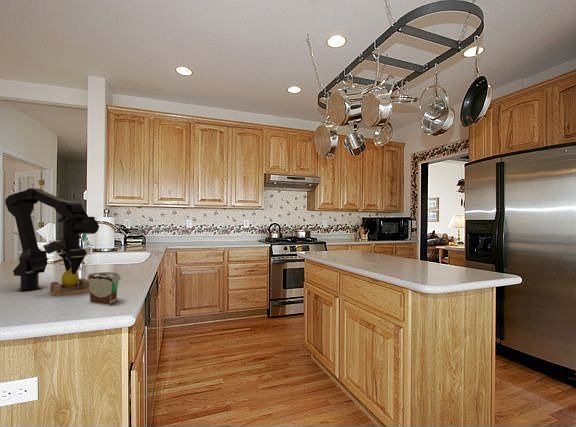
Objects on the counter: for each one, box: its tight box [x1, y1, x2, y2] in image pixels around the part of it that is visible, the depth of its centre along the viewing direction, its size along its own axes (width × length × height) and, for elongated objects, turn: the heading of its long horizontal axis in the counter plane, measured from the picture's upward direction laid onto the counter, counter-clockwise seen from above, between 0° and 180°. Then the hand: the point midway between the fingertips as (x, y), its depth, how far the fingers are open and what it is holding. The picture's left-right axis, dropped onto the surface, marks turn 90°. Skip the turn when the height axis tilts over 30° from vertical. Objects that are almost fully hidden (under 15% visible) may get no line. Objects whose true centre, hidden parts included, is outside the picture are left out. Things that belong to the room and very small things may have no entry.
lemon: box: [61, 268, 80, 288], centre depth 120 cm, size 6×6×8 cm
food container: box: [86, 271, 121, 306], centre depth 107 cm, size 12×6×10 cm, turn 71°
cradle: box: [49, 277, 89, 297], centre depth 119 cm, size 9×12×4 cm
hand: (70, 272), depth 119 cm, fingers open, 9 cm apart
